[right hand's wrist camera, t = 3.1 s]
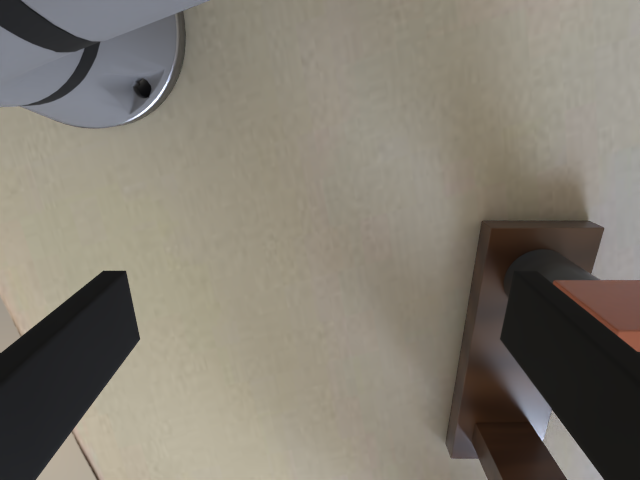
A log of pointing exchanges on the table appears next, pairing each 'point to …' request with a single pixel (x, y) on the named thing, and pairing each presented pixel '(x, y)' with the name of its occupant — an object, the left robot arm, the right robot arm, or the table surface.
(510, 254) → the walnut stand
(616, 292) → the terracotta cap
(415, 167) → the table surface
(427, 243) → the table surface
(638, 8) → the table surface
